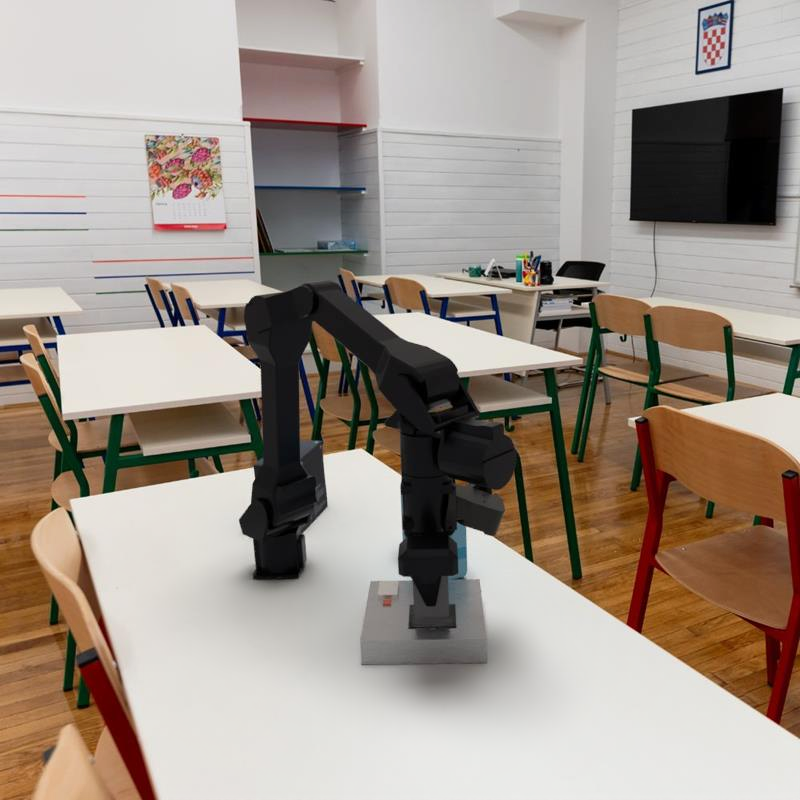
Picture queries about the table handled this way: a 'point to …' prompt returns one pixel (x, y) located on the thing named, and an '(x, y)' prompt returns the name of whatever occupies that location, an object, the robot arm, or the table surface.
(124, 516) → the table surface
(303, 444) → the small box
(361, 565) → the table surface
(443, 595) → the plug
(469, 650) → the faceplate
